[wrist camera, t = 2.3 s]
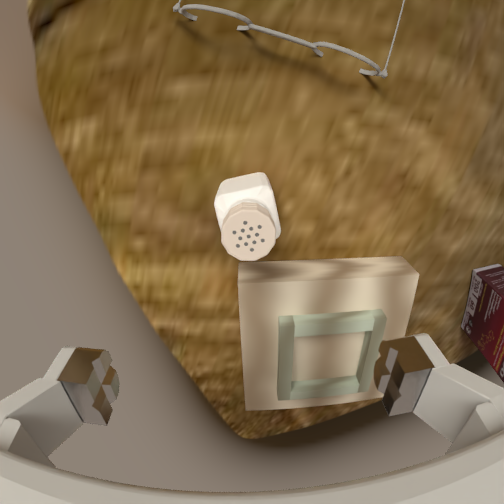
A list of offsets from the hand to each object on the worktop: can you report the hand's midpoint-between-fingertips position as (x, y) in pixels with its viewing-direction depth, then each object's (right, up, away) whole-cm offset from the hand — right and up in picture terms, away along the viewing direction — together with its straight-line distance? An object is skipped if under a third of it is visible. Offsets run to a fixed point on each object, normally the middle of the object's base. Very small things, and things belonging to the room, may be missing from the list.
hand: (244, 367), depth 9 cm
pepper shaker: (0, +8, +19) cm, 20 cm away
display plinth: (+7, -5, +24) cm, 25 cm away
